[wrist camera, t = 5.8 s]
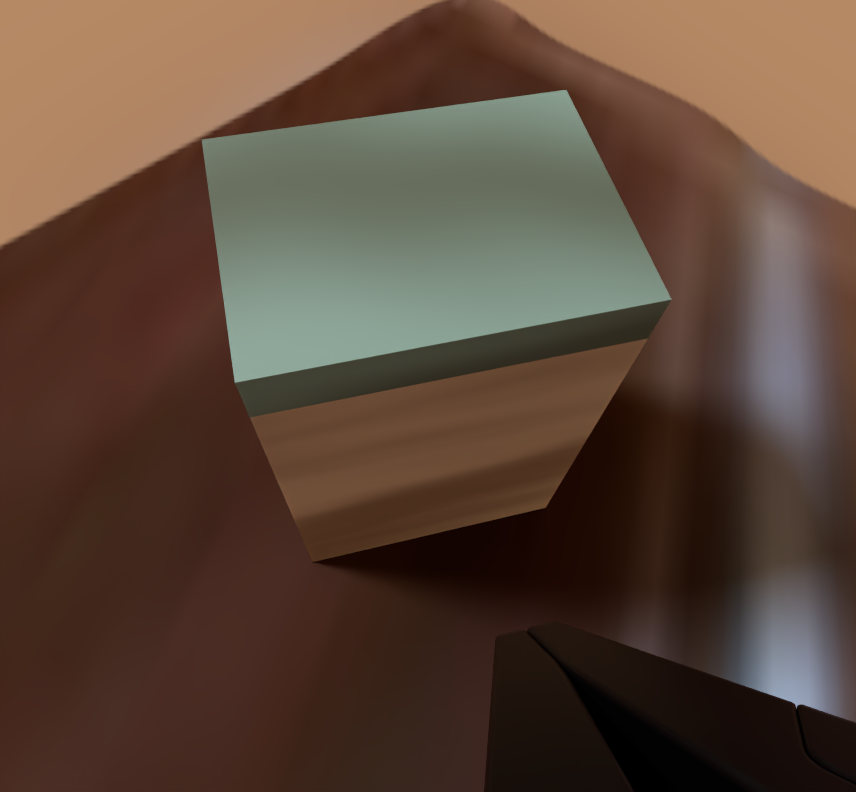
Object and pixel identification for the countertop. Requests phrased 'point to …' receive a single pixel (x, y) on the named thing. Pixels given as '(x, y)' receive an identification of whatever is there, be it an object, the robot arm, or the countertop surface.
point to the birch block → (426, 310)
